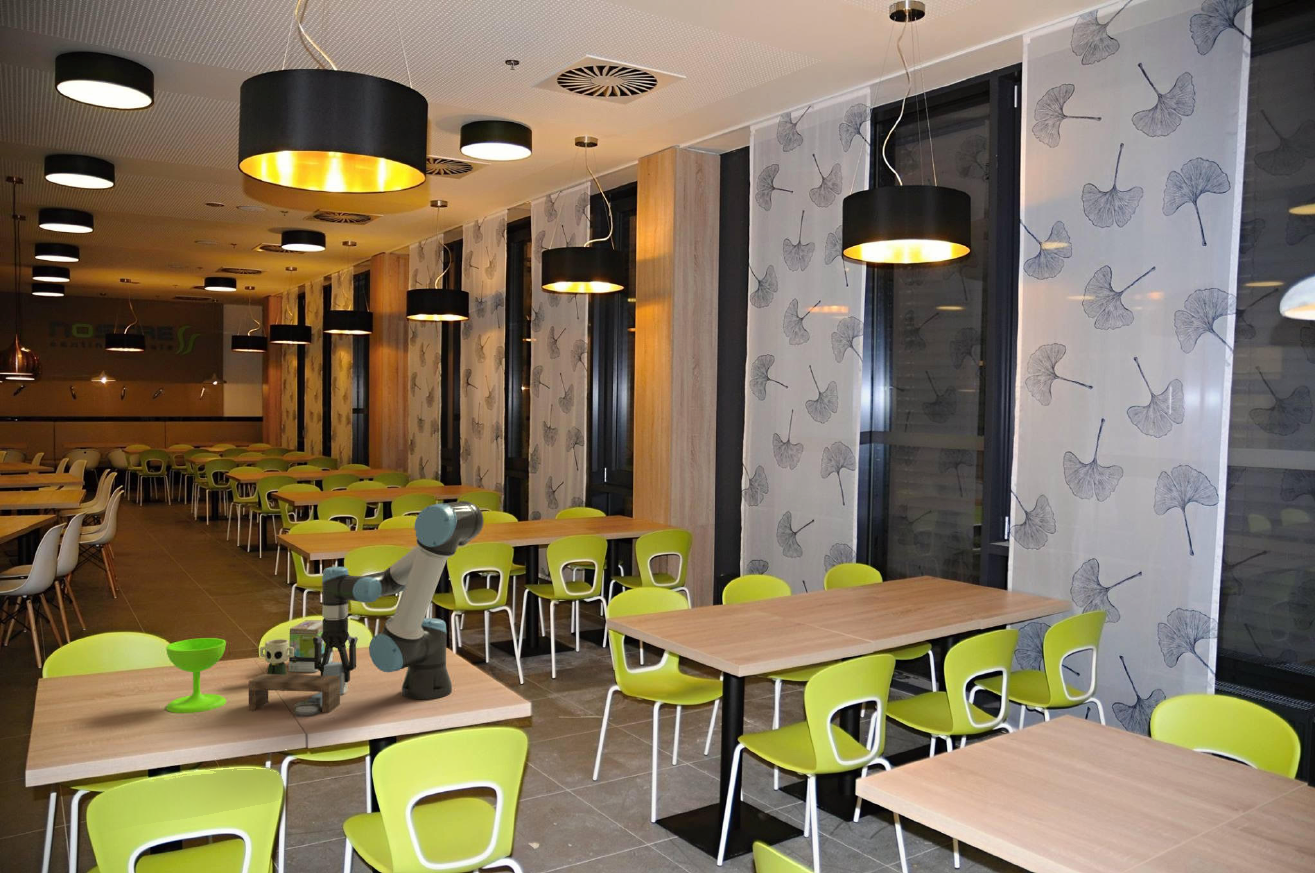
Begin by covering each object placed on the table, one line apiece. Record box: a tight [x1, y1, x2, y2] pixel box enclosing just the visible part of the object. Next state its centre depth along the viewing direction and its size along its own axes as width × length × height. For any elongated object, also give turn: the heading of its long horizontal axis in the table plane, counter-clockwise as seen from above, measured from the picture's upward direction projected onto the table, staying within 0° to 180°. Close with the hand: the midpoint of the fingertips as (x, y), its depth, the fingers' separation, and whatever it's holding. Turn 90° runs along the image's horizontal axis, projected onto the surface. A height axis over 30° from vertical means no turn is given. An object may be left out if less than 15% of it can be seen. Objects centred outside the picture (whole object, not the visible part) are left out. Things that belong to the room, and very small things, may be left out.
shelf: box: [248, 673, 341, 713], centre depth 278 cm, size 24×8×8 cm, turn 86°
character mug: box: [259, 638, 294, 675], centre depth 305 cm, size 11×7×13 cm, turn 90°
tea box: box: [288, 619, 334, 673], centre depth 324 cm, size 15×10×15 cm
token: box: [294, 700, 321, 718], centre depth 273 cm, size 7×7×2 cm
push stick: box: [306, 661, 344, 707], centre depth 286 cm, size 18×5×9 cm, turn 175°
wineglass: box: [165, 637, 227, 714], centre depth 280 cm, size 16×16×18 cm
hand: (335, 691), depth 293 cm, fingers closed on push stick, 5 cm apart
